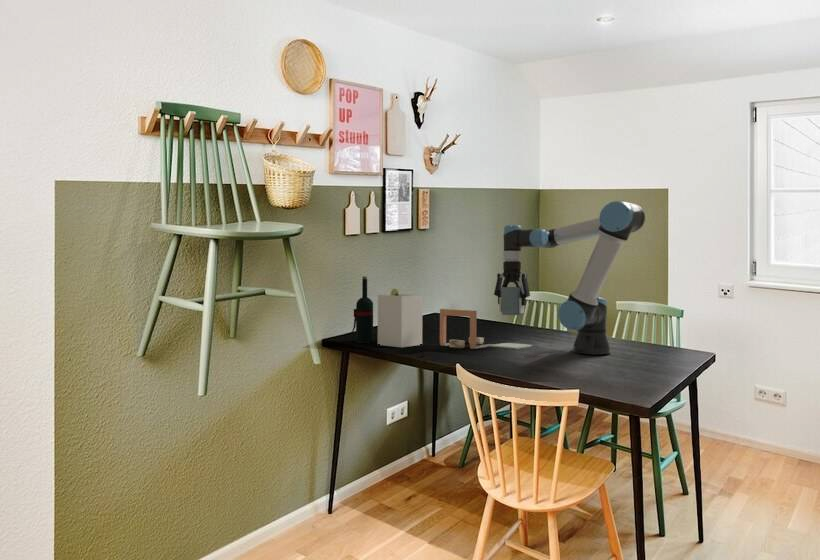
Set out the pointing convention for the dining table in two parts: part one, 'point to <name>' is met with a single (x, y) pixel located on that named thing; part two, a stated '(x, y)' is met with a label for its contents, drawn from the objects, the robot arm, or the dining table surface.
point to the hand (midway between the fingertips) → (511, 312)
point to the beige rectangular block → (462, 342)
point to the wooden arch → (458, 313)
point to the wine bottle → (364, 316)
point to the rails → (472, 347)
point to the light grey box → (400, 320)
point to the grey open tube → (510, 300)
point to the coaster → (511, 345)
